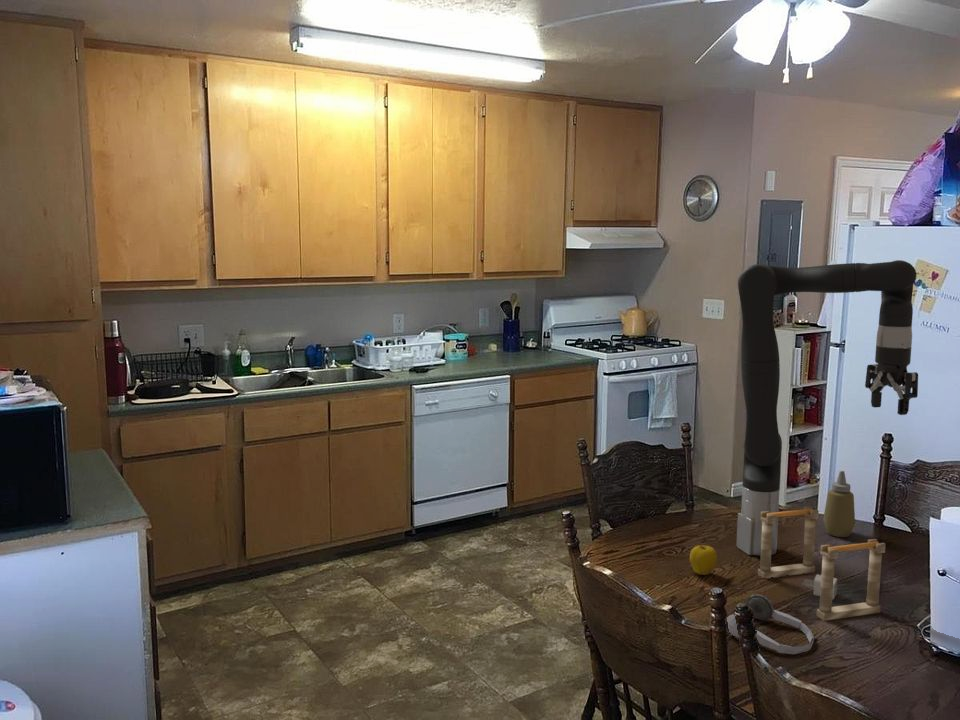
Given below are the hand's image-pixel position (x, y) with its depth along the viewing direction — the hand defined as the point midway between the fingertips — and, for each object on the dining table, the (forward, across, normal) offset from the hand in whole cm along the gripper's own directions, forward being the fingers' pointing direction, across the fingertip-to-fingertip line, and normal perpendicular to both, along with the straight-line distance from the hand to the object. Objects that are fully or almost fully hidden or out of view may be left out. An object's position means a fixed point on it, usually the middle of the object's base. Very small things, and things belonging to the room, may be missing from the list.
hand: (888, 410), depth 190 cm
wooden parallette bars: (+40, +8, -24) cm, 47 cm away
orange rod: (+25, +19, -24) cm, 39 cm away
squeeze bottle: (+40, -22, +6) cm, 46 cm away
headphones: (+41, +21, -46) cm, 65 cm away
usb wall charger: (+40, +8, -24) cm, 48 cm away
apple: (+40, -8, -44) cm, 60 cm away
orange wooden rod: (+25, -3, -24) cm, 35 cm away
